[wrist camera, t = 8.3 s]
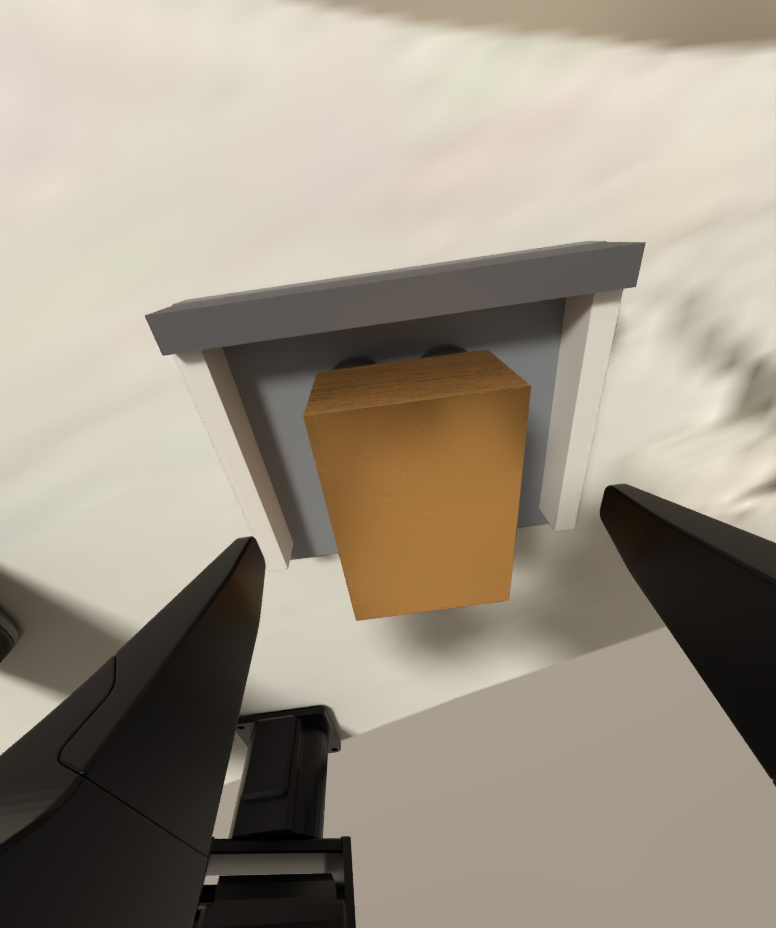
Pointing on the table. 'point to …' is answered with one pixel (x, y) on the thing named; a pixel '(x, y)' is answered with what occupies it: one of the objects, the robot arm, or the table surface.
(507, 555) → the trolley
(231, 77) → the table surface
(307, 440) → the dock
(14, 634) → the electronic device
